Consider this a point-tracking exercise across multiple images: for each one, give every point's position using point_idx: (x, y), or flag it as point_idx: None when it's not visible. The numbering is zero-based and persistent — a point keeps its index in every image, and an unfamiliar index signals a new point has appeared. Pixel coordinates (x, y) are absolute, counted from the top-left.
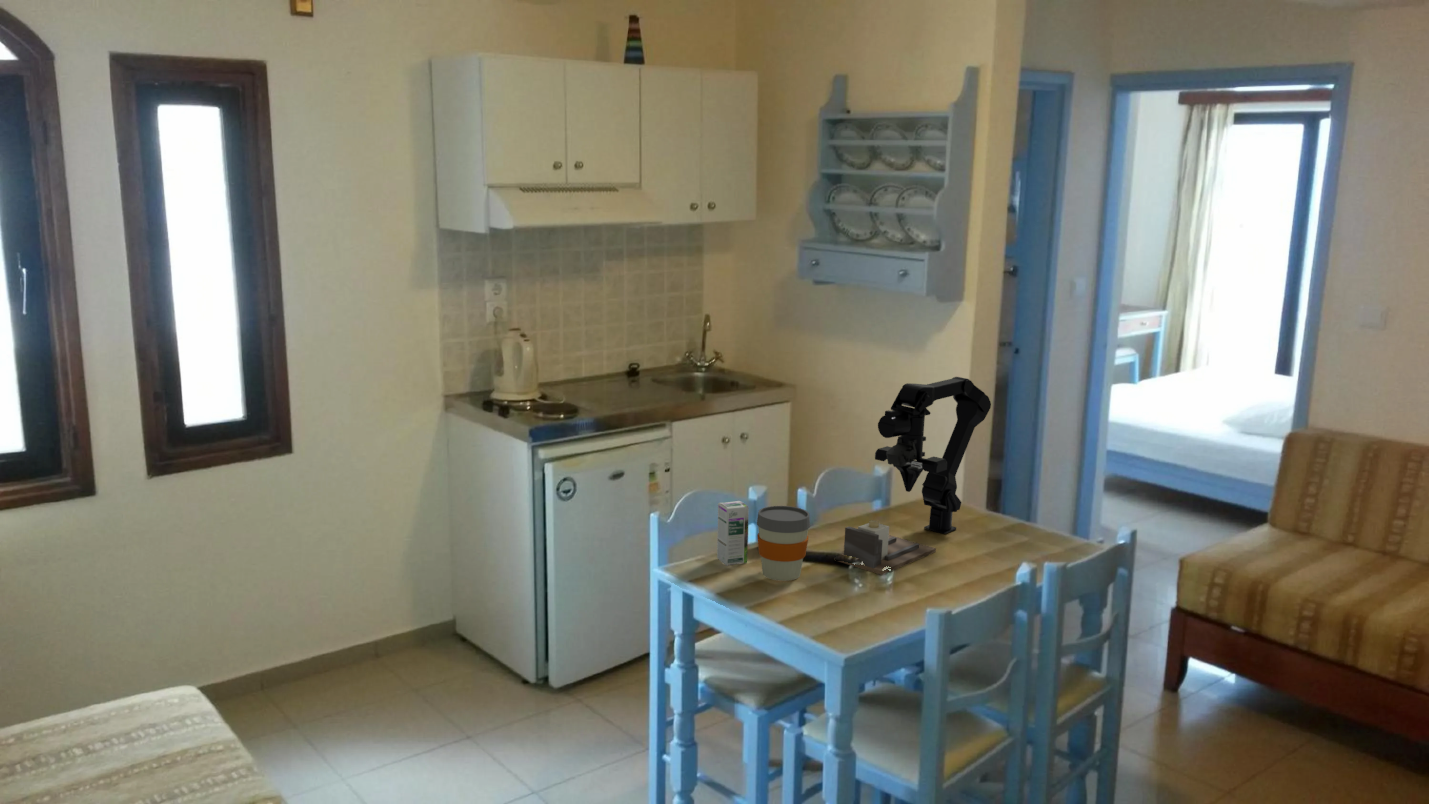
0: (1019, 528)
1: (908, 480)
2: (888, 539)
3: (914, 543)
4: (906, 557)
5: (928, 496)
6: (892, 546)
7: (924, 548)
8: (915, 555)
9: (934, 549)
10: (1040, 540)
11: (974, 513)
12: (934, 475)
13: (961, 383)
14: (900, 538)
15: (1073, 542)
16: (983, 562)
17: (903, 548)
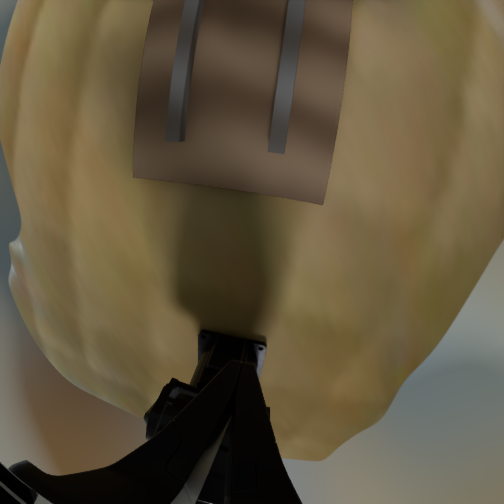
0: (131, 403)
1: (204, 427)
2: (284, 110)
3: (205, 173)
4: (162, 29)
5: (230, 418)
6: (253, 87)
7: (155, 148)
8: (148, 66)
9: (134, 168)
10: (77, 364)
11: None
12: (202, 494)
13: None
14: (272, 193)
15: (57, 368)
16: (43, 189)
17: (187, 57)
